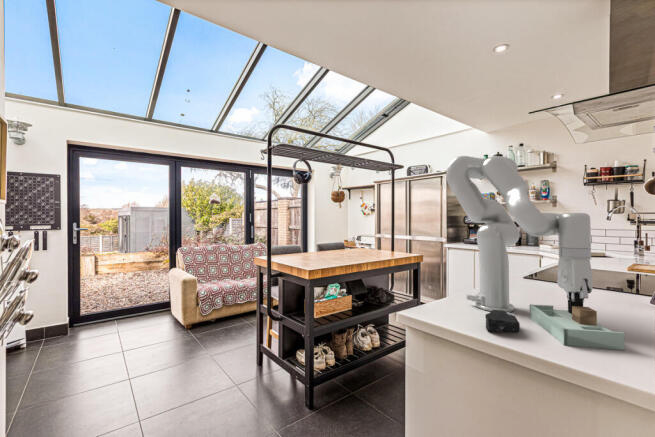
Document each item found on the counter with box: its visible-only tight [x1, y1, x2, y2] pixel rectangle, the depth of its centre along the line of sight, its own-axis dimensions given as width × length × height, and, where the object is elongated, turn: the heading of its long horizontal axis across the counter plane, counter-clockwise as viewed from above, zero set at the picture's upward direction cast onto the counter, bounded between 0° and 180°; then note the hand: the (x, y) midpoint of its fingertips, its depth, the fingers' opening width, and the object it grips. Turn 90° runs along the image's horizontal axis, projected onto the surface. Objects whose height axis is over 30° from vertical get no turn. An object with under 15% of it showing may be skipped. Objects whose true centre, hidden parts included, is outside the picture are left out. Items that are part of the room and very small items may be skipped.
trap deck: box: [529, 304, 626, 351], centre depth 86 cm, size 13×22×4 cm, turn 165°
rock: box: [484, 310, 521, 334], centre depth 89 cm, size 10×9×6 cm
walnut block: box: [572, 306, 598, 325], centre depth 85 cm, size 4×4×4 cm
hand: (575, 313), depth 89 cm, fingers closed
